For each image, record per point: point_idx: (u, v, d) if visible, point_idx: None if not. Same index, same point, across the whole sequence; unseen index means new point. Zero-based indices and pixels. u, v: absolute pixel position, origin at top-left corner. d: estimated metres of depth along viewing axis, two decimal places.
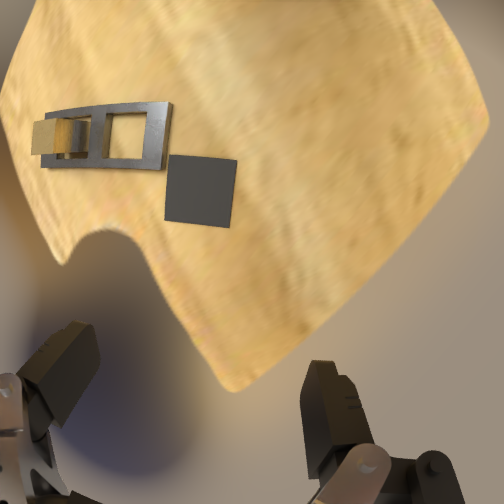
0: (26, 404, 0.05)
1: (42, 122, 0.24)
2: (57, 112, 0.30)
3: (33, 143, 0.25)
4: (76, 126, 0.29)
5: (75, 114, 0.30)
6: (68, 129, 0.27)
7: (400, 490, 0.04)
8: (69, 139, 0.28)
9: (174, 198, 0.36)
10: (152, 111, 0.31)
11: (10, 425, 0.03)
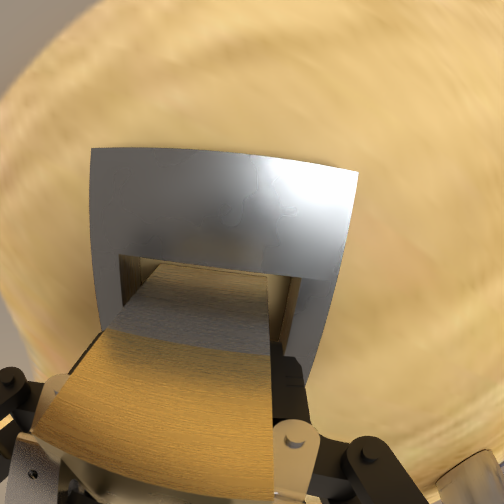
0: None
1: None
2: (334, 259, 0.09)
3: (103, 474, 0.03)
4: None
5: (290, 352, 0.10)
6: None
7: (332, 473, 0.05)
8: None
9: None
10: None
11: None
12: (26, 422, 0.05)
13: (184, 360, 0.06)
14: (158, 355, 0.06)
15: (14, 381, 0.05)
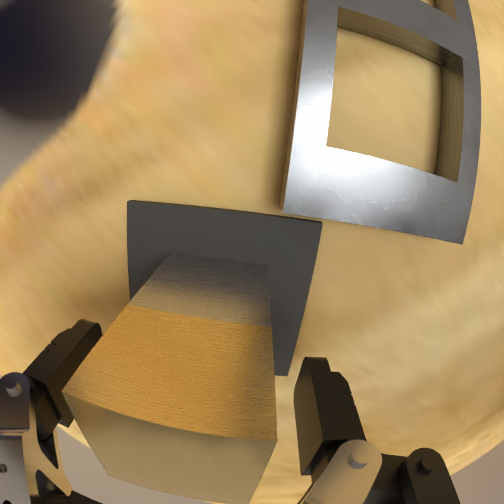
0: (34, 403, 0.05)
1: (249, 476, 0.05)
2: None
3: (127, 425, 0.04)
4: None
5: None
6: None
7: (391, 487, 0.04)
8: None
9: (189, 234, 0.12)
10: (452, 198, 0.10)
11: (16, 425, 0.04)
12: None
13: (198, 329, 0.07)
14: (175, 325, 0.07)
15: None
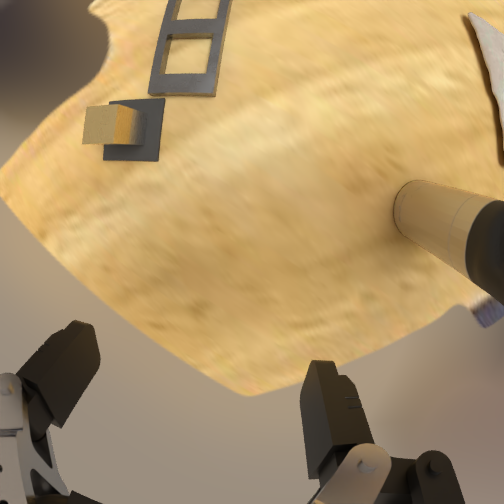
0: (26, 404, 0.05)
1: (113, 120, 0.25)
2: None
3: (96, 109, 0.25)
4: None
5: (222, 1, 0.26)
6: None
7: (400, 490, 0.04)
8: None
9: None
10: (204, 78, 0.30)
11: (10, 425, 0.03)
12: None
13: None
14: None
15: None
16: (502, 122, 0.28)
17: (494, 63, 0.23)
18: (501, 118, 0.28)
